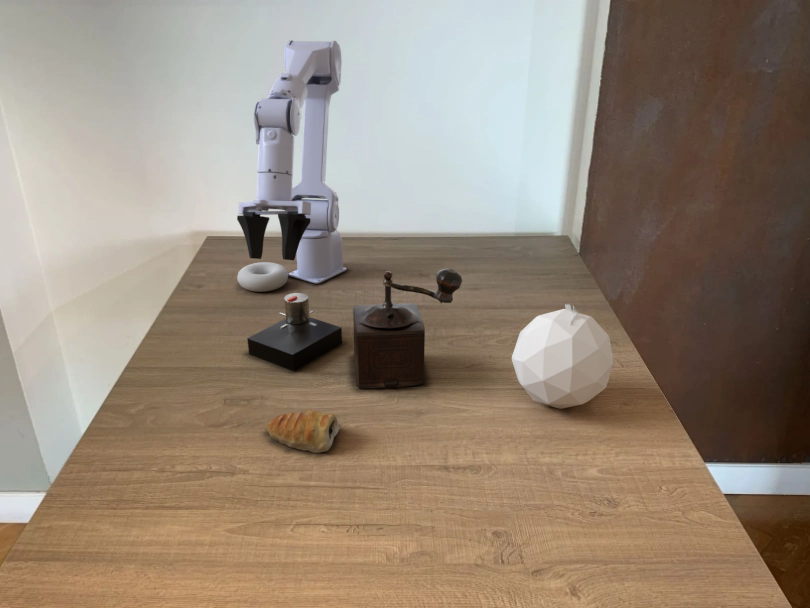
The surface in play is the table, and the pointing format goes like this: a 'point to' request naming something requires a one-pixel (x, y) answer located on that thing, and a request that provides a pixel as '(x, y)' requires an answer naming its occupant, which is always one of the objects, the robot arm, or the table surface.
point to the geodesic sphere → (563, 358)
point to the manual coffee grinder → (395, 335)
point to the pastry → (305, 430)
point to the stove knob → (296, 308)
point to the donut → (262, 276)
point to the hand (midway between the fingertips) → (271, 259)
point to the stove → (294, 342)
